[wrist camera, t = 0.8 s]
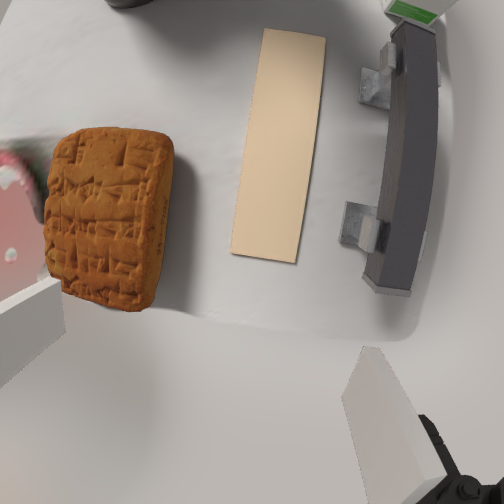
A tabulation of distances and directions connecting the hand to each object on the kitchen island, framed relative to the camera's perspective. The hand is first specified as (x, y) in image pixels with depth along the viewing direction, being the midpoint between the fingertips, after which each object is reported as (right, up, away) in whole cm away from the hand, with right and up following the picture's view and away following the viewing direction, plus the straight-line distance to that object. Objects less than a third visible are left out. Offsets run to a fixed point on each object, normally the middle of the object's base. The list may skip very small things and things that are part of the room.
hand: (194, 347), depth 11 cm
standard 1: (+16, +7, +23) cm, 29 cm away
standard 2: (+19, +24, +19) cm, 36 cm away
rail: (+17, +14, +14) cm, 26 cm away
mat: (+6, +18, +22) cm, 29 cm away
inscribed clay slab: (-16, +9, +25) cm, 31 cm away
